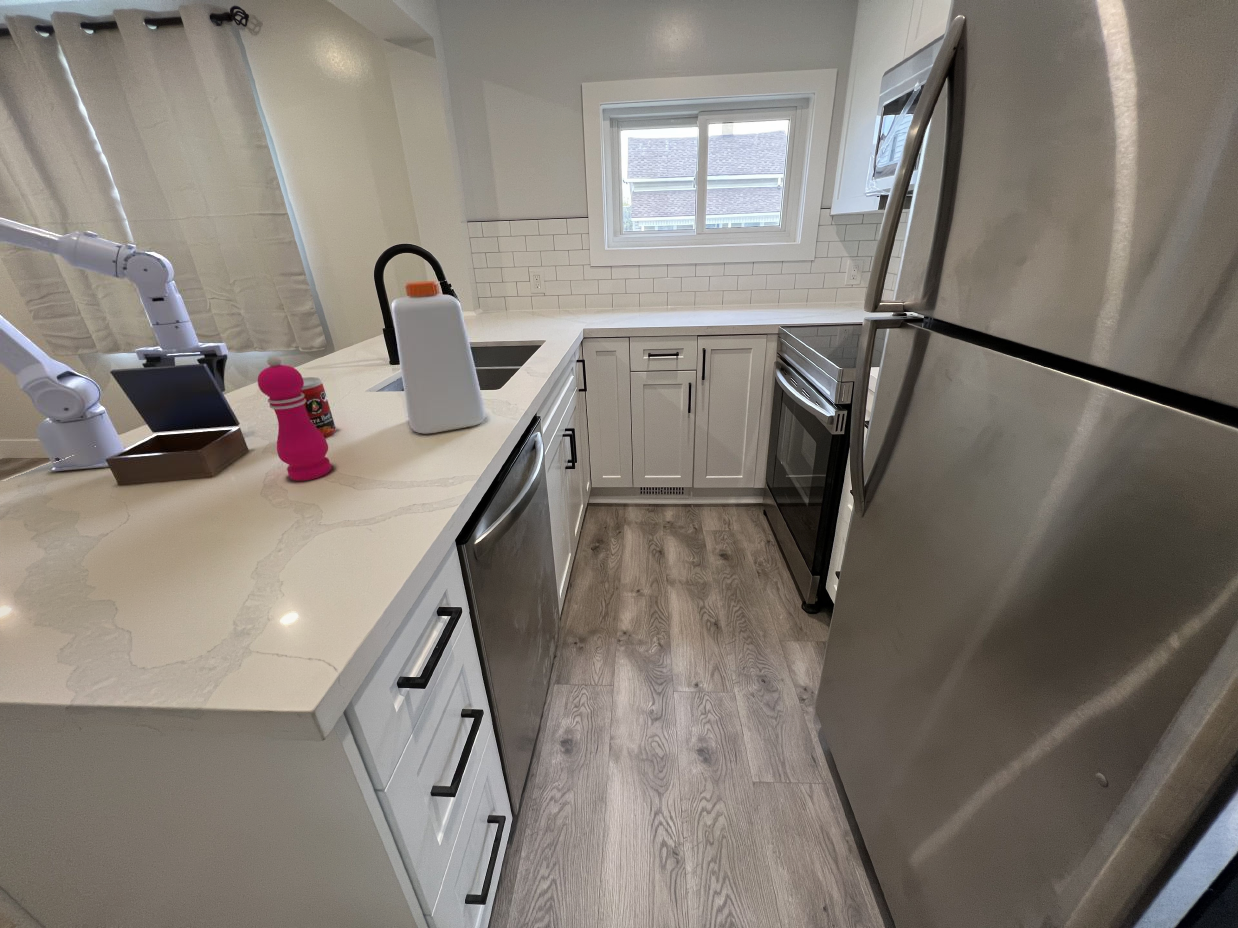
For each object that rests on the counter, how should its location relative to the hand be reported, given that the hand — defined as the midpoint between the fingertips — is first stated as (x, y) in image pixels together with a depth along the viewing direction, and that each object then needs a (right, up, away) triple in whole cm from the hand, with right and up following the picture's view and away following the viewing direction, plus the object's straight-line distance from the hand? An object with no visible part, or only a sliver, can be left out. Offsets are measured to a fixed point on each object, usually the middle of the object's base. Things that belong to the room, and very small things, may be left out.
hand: (199, 393), depth 97 cm
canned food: (+20, -8, +5) cm, 22 cm away
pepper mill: (+30, -15, -13) cm, 36 cm away
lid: (+4, -2, -9) cm, 10 cm away
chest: (+5, -14, -8) cm, 17 cm away
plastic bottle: (+45, -5, +9) cm, 47 cm away
